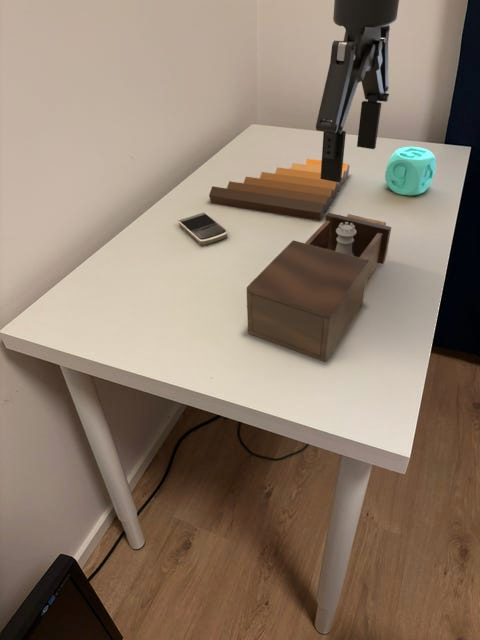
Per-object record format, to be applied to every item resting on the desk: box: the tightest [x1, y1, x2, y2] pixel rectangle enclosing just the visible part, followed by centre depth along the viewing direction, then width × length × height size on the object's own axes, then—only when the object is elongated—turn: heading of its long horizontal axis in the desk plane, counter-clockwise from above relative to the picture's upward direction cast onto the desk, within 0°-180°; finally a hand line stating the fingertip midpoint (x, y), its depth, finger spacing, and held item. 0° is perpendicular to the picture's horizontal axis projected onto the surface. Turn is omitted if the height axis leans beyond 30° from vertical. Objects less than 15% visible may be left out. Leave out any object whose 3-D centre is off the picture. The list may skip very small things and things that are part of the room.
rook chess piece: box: [335, 222, 356, 256], centre depth 80 cm, size 4×4×8 cm
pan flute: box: [208, 158, 351, 222], centre depth 110 cm, size 25×3×25 cm
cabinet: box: [246, 239, 369, 363], centre depth 73 cm, size 15×13×9 cm
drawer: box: [304, 212, 392, 282], centre depth 83 cm, size 18×11×7 cm, turn 149°
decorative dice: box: [384, 146, 437, 196], centre depth 107 cm, size 8×8×8 cm
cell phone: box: [177, 212, 229, 246], centre depth 97 cm, size 6×11×1 cm, turn 32°
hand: (349, 162), depth 70 cm, fingers open, 13 cm apart
